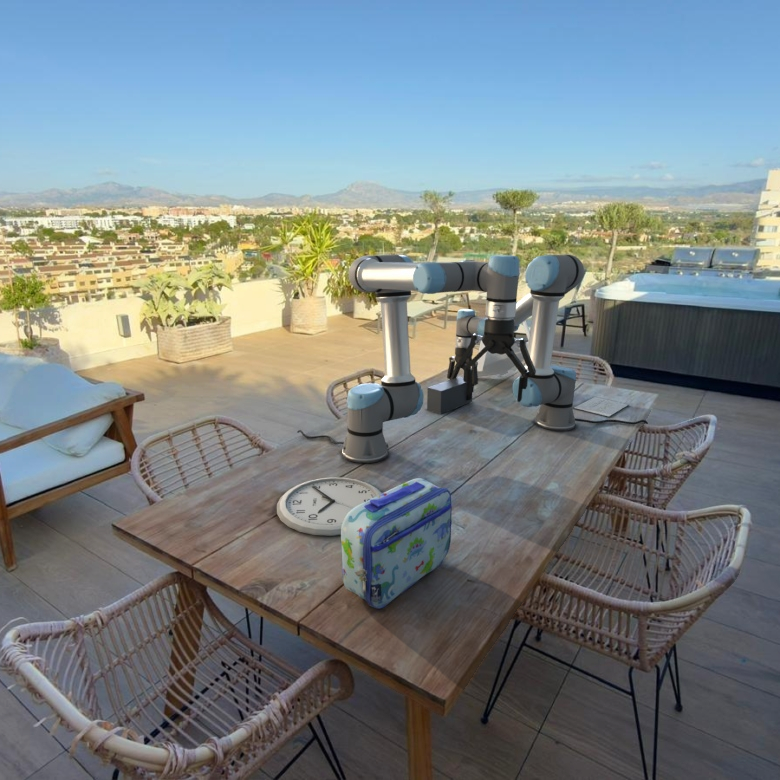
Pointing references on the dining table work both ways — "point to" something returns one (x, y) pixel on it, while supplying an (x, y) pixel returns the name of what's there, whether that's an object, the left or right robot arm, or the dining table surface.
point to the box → (447, 395)
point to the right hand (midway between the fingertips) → (461, 397)
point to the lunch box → (395, 540)
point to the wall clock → (323, 504)
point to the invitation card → (601, 406)
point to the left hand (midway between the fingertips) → (493, 397)
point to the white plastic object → (499, 359)
